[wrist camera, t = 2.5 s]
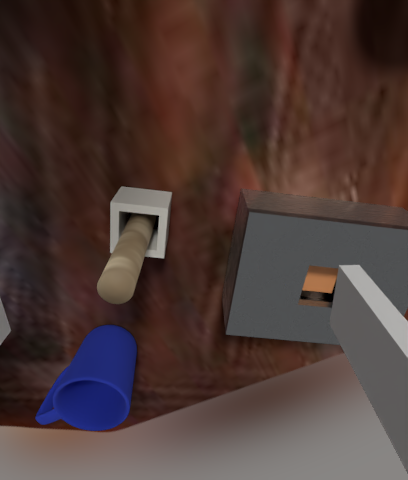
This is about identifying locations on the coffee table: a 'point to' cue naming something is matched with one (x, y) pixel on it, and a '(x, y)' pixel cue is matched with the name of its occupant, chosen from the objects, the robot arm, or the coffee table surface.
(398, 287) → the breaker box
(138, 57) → the coffee table surface
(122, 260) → the peg
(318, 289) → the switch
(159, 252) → the hollow square box
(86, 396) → the mug
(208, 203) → the coffee table surface
